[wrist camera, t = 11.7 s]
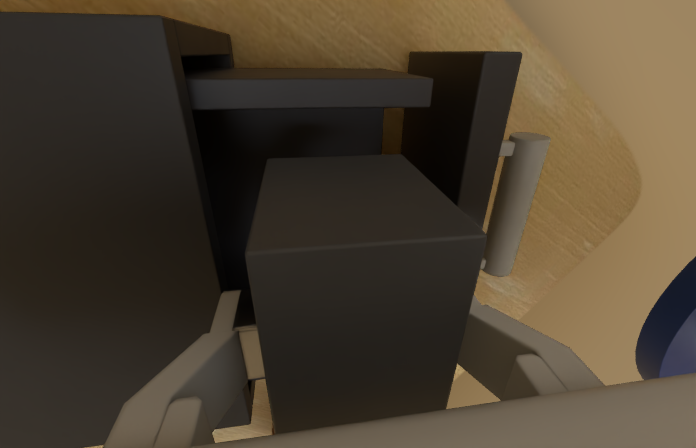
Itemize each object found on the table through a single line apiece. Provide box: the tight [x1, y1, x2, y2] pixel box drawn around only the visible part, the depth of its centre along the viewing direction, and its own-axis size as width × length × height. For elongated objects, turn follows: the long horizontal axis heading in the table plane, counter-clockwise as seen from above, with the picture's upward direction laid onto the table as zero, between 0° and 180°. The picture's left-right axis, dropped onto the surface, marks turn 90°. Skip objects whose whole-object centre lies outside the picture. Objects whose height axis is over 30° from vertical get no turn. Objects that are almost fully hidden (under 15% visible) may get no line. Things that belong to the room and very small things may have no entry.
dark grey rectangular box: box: [245, 154, 487, 434], centre depth 9 cm, size 4×8×5 cm, turn 179°
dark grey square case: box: [0, 12, 256, 448], centre depth 13 cm, size 16×15×9 cm
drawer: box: [183, 51, 551, 381], centre depth 15 cm, size 19×13×7 cm
